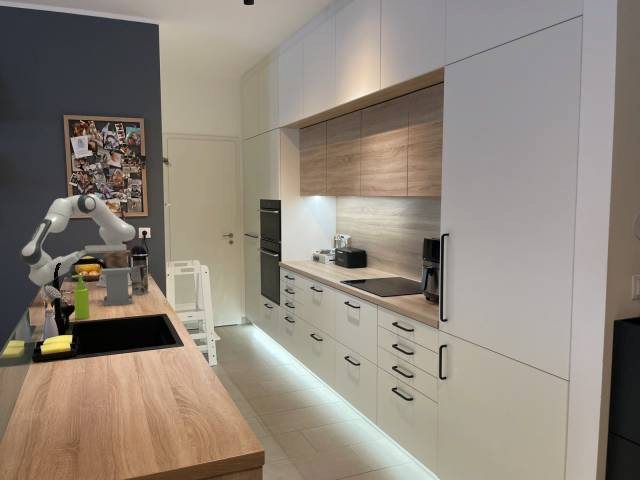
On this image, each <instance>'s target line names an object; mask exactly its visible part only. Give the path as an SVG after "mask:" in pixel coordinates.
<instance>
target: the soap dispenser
mask: <svg viewBox="0 0 640 480" xmlns="http://www.w3.org/2000/svg"><path fill="white" fill-rule="evenodd" d="M83 277H85V274H75V275H72V276H71V278H72V279H73V278H74V279H77V278H78V280H77V282H76V288H75V289H74V290H73V297H74V298H73V300H74V301H73V302H74V318H75V319H76V320H84V319H85V320H86V319H88V318H90V303H89V302H90V301H89V298H90V297H89V289H88V288H86V282H85V281H83Z"/></svg>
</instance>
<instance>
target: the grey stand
mask: <svg viewBox="0 0 640 480" xmlns="http://www.w3.org/2000/svg"><path fill="white" fill-rule="evenodd" d="M128 273H130V274H131V267H129V268H111V269H107V268H102V269H101V274H100V275H106V287H105V288H106V296H107V300H104V299H103V300H102V306H103V307H109V306H120V305H123V306H124V305H133V297H132V298H128V295H129V286H128V284H127V274H128Z"/></svg>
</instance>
